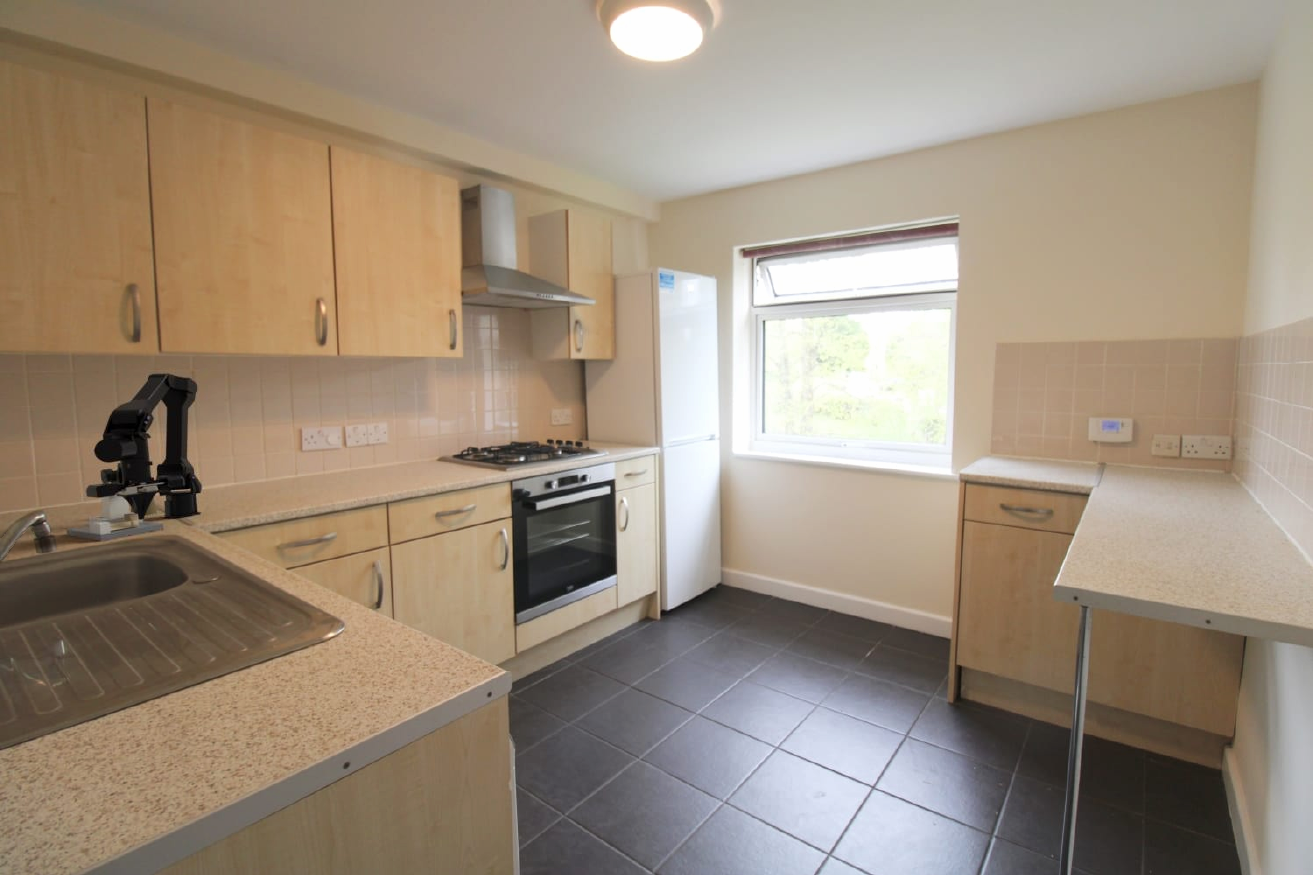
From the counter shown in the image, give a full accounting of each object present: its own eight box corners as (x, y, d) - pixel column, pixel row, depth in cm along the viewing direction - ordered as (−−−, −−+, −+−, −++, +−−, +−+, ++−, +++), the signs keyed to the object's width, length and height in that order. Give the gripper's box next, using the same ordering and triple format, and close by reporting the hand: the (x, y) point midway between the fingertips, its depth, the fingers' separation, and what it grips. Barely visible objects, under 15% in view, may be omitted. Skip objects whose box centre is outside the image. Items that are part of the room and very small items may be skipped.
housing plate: (128, 524, 169) (127, 509, 168) (163, 529, 161) (162, 514, 161) (66, 534, 157) (65, 519, 157) (101, 541, 149) (99, 524, 149)
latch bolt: (132, 524, 159) (131, 513, 159) (139, 525, 157) (137, 513, 157) (103, 529, 153) (102, 517, 153) (109, 530, 152) (108, 518, 152)
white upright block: (122, 521, 165) (119, 488, 164) (130, 522, 163) (127, 489, 163) (103, 524, 162) (100, 491, 161) (111, 525, 160) (108, 492, 159)
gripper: (159, 453, 170) (165, 510, 171) (71, 461, 153) (78, 524, 154) (183, 454, 165) (188, 512, 166) (94, 463, 148) (101, 528, 149)
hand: (140, 519), depth 159 cm, fingers closed
